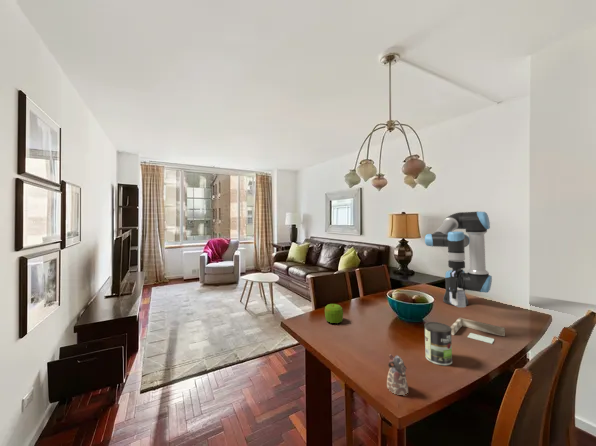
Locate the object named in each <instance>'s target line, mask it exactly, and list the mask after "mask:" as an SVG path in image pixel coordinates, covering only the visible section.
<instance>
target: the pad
mask: <svg viewBox="0 0 596 446" xmlns="http://www.w3.org/2000/svg"><path fill="white" fill-rule="evenodd" d="M467 338H468V339H469V338H470V339H472V340H476V341H481V342H484V343H488V344H491V345H493V343H494V341H495V338H493V337H487V336H485V335H480V334H478V333H477V334H476V333H473V332H470V333H469V334H468V335H467Z"/></svg>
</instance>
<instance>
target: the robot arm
mask: <svg viewBox="0 0 596 446" xmlns="http://www.w3.org/2000/svg"><path fill="white" fill-rule="evenodd" d="M489 229H491V222H490V218H489V215H488V213H487V212H485V211H478V210H477V211H466V212H465V211H464V212H455V213H453V214H450V215H448V216H447V217H446V218H444V219H443V220H442V224H440V226H439V227H437V229H436V230H435V231H434V232H432V233H427V234H426V235H425V236H424V243H425V246H426V247H435V248H436V247H437V248H438V247H439V248H441V247H442V248H447V254H446V255H447V256H448V257H447V259H448V261H447V262H448V265H447V266H448V268H451V269H450V270H447V271H446V272H445V279H444V281H445V292H444V295H443V297H442V301H443V302H444V303H445V304H447V305H450V306H455V305H458V292H457V287H458V288H460V289H462V290H464V291H465V292H466V291H471V292H472V291H473V292H478V293H486V294H487V293H490V291H491V287H492V281H493V276H492V275H490V274H489V273H490V272H489V271H488V270H487V269H486V268H487V267H486V249H485V248H486V245H485V243H486V242H485V234H486V233H487V232H488V230H489ZM455 230H465V233H467V234H465V233H464V232H463V231H455ZM466 247H468V252H469V253H468V254H469V269H468V270H467V272H465V270H464V269H465V268H466V261H465V260H466V254H465V251H466V250H465V248H466ZM449 288H450V290H449ZM453 289H454V290H453ZM449 292H451V297H452V304H451V303H450V293H449ZM465 300H466V306H469V299H468V297H467V295H466V293H465Z"/></svg>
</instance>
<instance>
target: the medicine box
mask: <svg viewBox="0 0 596 446" xmlns="http://www.w3.org/2000/svg"><path fill="white" fill-rule="evenodd" d="M449 290H450V288H449ZM453 290H454V289H453ZM457 292H458V305H454V306H455V307H457V308H466V307H467V305H466V300H465V294H466V290H465V291H464V290H462V289H460V288H458V287H457ZM449 293H450V303H451V304H452V297H451V292H449Z"/></svg>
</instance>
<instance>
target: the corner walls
mask: <svg viewBox="0 0 596 446" xmlns="http://www.w3.org/2000/svg"><path fill="white" fill-rule="evenodd" d="M450 327H451V329H452V331H451V336H455V335H456V334H457V332H458V331H459V330H460V329H461V328H462V327H464V328H469V329H473V330H476V331H480V332H484V333H488V334H492V335H496V336H501V337H505V336H506V333H505V332H506V328H505V327H502V326H499V325H493V324H491V323H485V322H482V321H476V320H473V319H467V318H463V317H458V318H457V319H456V321H454V322H453V323H452V324H451V326H450Z"/></svg>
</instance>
